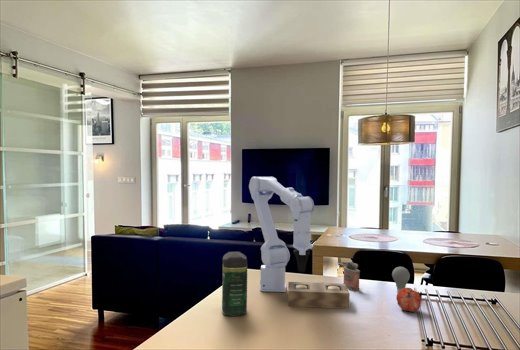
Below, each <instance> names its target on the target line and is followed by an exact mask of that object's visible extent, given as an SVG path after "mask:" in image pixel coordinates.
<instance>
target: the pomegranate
mask: <svg viewBox="0 0 520 350" xmlns="http://www.w3.org/2000/svg"><path fill="white" fill-rule="evenodd" d="M396 293H397V292H396ZM396 301H397V305H398V307H399V308H400V309H402V310H403V311H405V312H412V313H413V312H414V313H415V312H418V310H419V309H420V308H421V306H422V297H421V294H420V293H419V292H418V291H415V290H414V289H412V288H411V287H405V288H403V289H402V290H401V291H399V292H398V293H397V294H396Z"/></svg>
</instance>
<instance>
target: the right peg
mask: <svg viewBox="0 0 520 350" xmlns="http://www.w3.org/2000/svg"><path fill="white" fill-rule="evenodd" d="M328 290H340V288H339V287H337V286H329V287H328Z"/></svg>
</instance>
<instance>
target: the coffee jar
mask: <svg viewBox="0 0 520 350" xmlns="http://www.w3.org/2000/svg"><path fill="white" fill-rule="evenodd" d="M221 276H222V279H221V280H222V285H221V288H222V289H221V290H222V291H221V310H222V313H223V314H224V315H226V316H231V317H238V316H241V315H245V314H247V310H248V309H247V308H248V306H247V305H248V257H247V256H246V255H245V254H244V253H242V252H241V251H228V252H226V253H225V254H224V255H223V256H222V275H221Z"/></svg>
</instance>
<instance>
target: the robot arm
mask: <svg viewBox="0 0 520 350" xmlns="http://www.w3.org/2000/svg"><path fill="white" fill-rule="evenodd" d="M248 189H249V193H250V195H251V199H252V200H253V203H254V207H255V211H256V214H257V218H258V221H259V225H260V228H261V232H262V235H263V239H264V240H263V241H264V243H263V244H262V245H261V247H260V251H261V252H260V254H261V258H260V259H261V261H262V264H261V266H260V280H259V284H260V288H259V289H260V290H259V292H271V293H272V292H273V293H274V292H275V293H276V292H277V293H286V292H287V284H286V266H287V265H288V262H289V261H290V259H291V258H290V257H291V254H290V251H289V249H288V247H287V245H286V242H284V241H283V240H282V239H280V238H279V236H278V232H277V229H276V226H275V223H274V220H273V216H272V212H271V209H270V206H269V203H268V202H269V200H270V199H272V197H273V195H274V194H276V195H278V196H279V198H280V200H281V202H282V203H284V204H285V205H287V206H288V207H289V209H290V211H291V216H292V217H291V218H292V220H293V244H292V247H293V248H294V249H293V254H294V257H295V260H296V265H297V270H298V272H300V273H305V272H306V267H307V262H308V259H309V257H310V255H311V250H310V248H314V244H312V243H311V213H312V212H313V211H314V209H315V203H314V200H313V199H312V197H310V196H308V195H307V196H303V195H302V193H301V192H300V193H299V192H297V191H296V190H295V188H293V187H284V185H282V184H281V183H280V182H278V179H277V178H276V177H274V176H252V177H251V178H250V180H249V184H248Z"/></svg>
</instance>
